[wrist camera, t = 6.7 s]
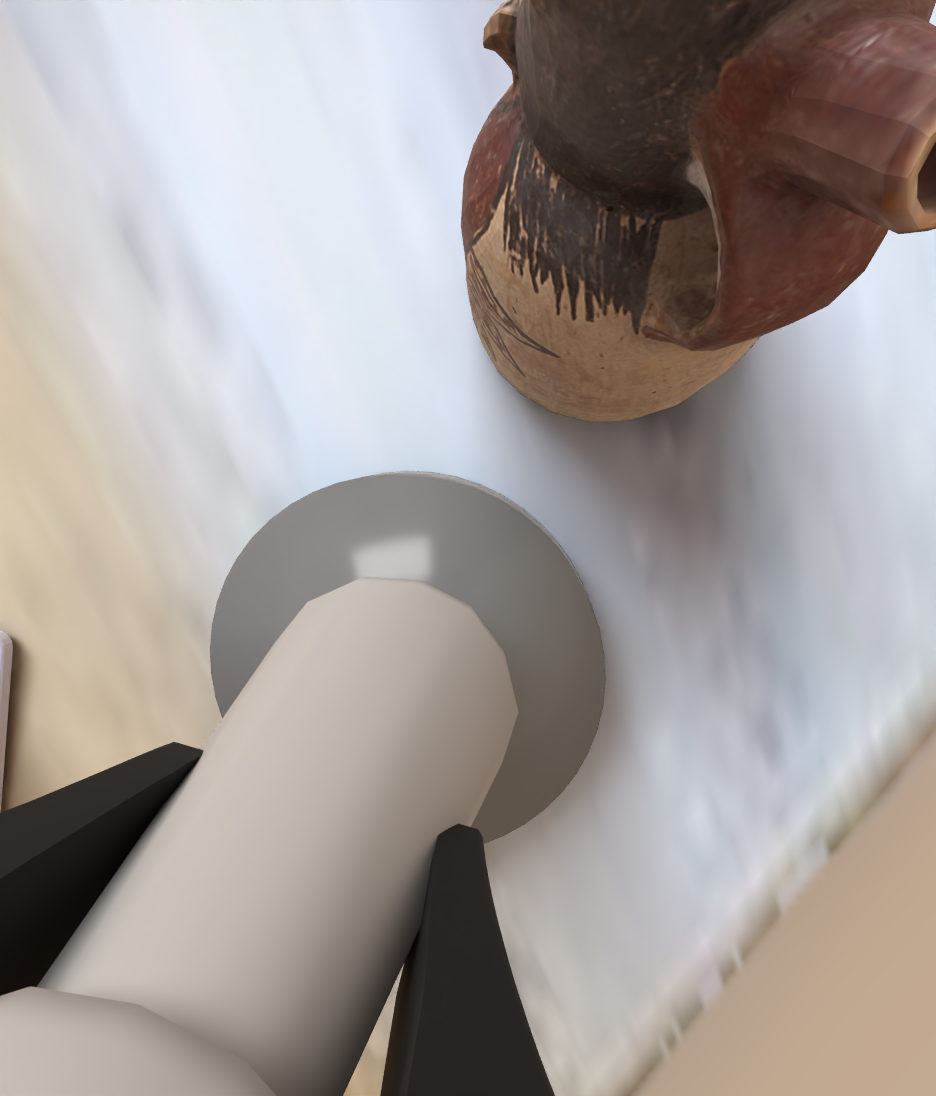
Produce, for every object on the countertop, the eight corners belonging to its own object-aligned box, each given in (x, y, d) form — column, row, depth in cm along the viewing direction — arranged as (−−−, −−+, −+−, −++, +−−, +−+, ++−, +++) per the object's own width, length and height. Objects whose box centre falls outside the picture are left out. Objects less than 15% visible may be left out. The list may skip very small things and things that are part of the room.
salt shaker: (465, 519, 14) (-169, 1305, 2) (555, 714, 15) (626, 2274, 2) (273, 604, 15) (-974, 1438, 3) (366, 779, 16) (-262, 2045, 4)
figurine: (720, 95, 14) (1808, -1860, 2) (768, 383, 15) (1661, 167, 3) (443, 189, 15) (131, -765, 3) (507, 451, 16) (453, 476, 4)
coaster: (542, 849, 18) (544, 898, 16) (222, 757, 19) (186, 794, 17) (642, 522, 16) (659, 534, 14) (275, 431, 16) (241, 429, 15)
